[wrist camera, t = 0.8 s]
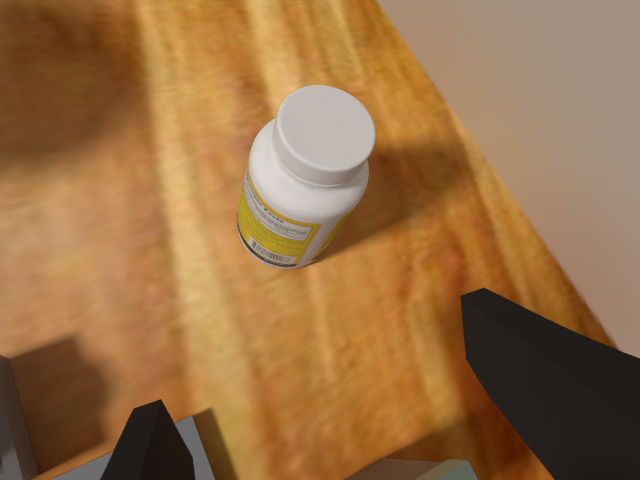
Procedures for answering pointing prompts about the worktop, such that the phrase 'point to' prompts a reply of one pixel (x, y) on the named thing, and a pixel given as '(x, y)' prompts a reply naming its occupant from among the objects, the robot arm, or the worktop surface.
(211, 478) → the sketch board
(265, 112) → the worktop surface
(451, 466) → the block
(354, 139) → the supplement bottle
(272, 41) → the worktop surface
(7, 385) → the button housing
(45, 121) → the worktop surface
